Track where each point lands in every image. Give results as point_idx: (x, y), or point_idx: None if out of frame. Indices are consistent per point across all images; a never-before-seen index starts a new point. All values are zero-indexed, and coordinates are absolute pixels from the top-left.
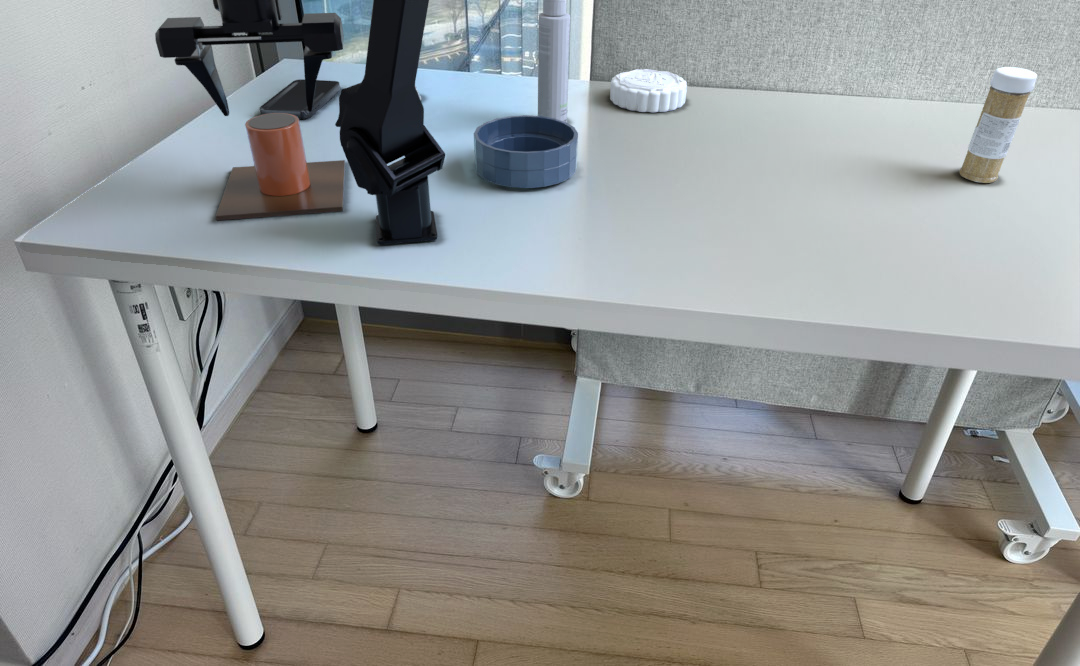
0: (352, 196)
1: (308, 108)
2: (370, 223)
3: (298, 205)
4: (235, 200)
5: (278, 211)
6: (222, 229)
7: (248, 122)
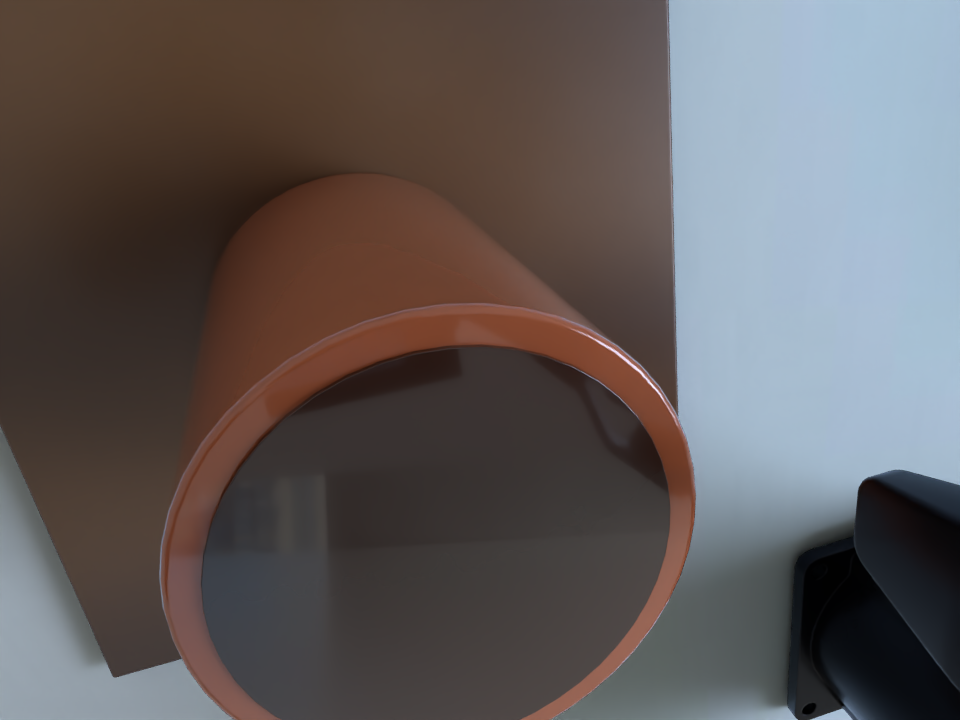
0: (702, 359)
1: (887, 591)
2: (768, 576)
3: None
4: (137, 522)
5: None
6: (185, 713)
7: (203, 625)
